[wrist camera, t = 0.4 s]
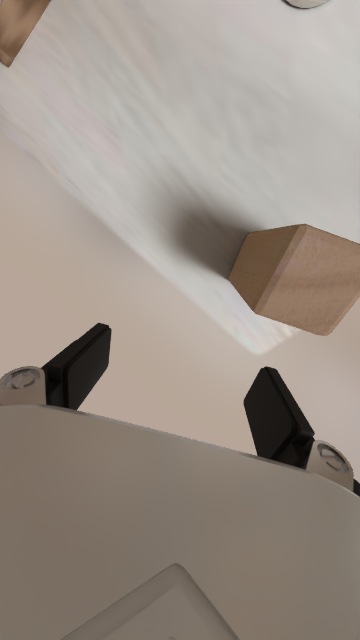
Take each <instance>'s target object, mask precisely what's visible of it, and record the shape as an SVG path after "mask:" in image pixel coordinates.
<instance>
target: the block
mask: <svg viewBox="0 0 360 640" xmlns="http://www.w3.org/2000/svg"><path fill="white" fill-rule="evenodd" d="M229 281H230V282H231V284H232V285H233V286H234V288H235V289H236V290H237V291H238V293H239V294H240V295H241V297H242V298H243V299H244V301H245V302H246V303H247V304H248V306H249V307H250V308H251V310H252V311H254V312H255V313H256V314H258V315H261V316H264V317H267V318H270V319H273V320H276V321H279V322H281V323H284V324H287V325H290V326H293V327H296V328H299V329H302V330H305V331H308V332H311V333H314V334H316V335H322V336H327V335H329V334H330V333H331V332H332V331H333V330H334V329H335V328H336V326H337V325H338V324H339V322H340V321H341V320H342V319H343V317H344V316H345V315H346V313H347V312H348V311H349V310H350V308H351V307H352V306H353V304H354V303H355V302H356V301H357V299H358V298H359V297H360V244H358V243H356V242H353V241H350V240H348V239H345V238H342V237H339V236H337V235H334V234H331V233H329V232H326V231H323V230H320V229H318V228H315V227H312V226H310V225H307V224H299V225H292V226H286V227H280V228H274V229H269V230H263V231H257V232H251V233H249V234H248V235H247V236H246V238H245V240H244V243H243V245H242V247H241V250H240V252H239V254H238V257H237V259H236V261H235V263H234V266H233V268H232V270H231V273H230V275H229Z"/></svg>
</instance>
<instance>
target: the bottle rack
mask: <svg viewBox="0 0 360 640" xmlns="http://www.w3.org/2000/svg"><path fill="white" fill-rule="evenodd" d="M50 1H51V0H3V1H2V3H1V5H0V60H1V61H2V62H3V63H4V64H6V65H7V66H8V67H9V66H10V65H11V63H12V62H13V60H14V58H15V57H16V55H17V54H18V52H19V50H20V49H21V47H22V46H23V44H24V42H25V41H26V39H27V38H28V36H29V34H30V33H31V31H32V30H33V28H34V26H35V25H36V23H37V22H38V20H39V18H40V17H41V15H42V13H43V12H44V10H45V9H46V7H47V5H48V4H49V2H50Z"/></svg>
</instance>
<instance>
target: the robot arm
mask: <svg viewBox="0 0 360 640" xmlns="http://www.w3.org/2000/svg"><path fill="white" fill-rule="evenodd" d="M286 1H288V2H289V3H290V4H292V5H294V6H297V7H300V8H312V7H316V6H319V5H322V4H323V3H325V2H327V1H329V0H286ZM110 341H111V328H109V326H108V325H105V324H101V323H97V324H96V325H95V326H94V327H93V328H91V329H90V330H89V331H88V332H86V333H85V334H84V335H83V336H82V337H80V338H79V339H78V340H76V341H74V342H73V343H71V344H70V345H69V346H68V347H66V348H65V349H64V350H63V351H62V352H60V353H59V354H58V355H56V356H55V357H54V358H53V359H52V360H50V361H49V362H48V363H47V364H45V365H44V366H43V367H42V368H38V367H34V366H27V367H21V368H17V369H14V370H12V371H10V372H8V373H6V374H5V375H4V376H3V377H2V378H1V379H0V640H360V484H359V483H358V482H357V481H356V480H355V479H354V478H353V477H354V475H353V469H352V467H351V465H350V463H349V462H348V461H347V459H346V458H345V457H344V456H343V454H342V453H341V452H340V451H338V450H337V449H336V448H335V447H333V446H332V445H330V444H329V443H327V442H325V441H321V440H316V441H315V440H314V438H313V435H314V434H315V433H314V431H313V429H312V428H311V426H310V425H309V423H308V421H307V419H306V418H305V416H304V414H303V413H302V411H301V409H300V408H299V406H298V404H297V403H296V401H295V400H294V398H293V396H292V394H291V393H290V391H289V389H288V388H287V386H286V384H285V383H284V381H283V379H282V378H281V376H280V374H279V373H278V371H277V370H276V369H274V368H270V367H264V368H261V369H260V371H259V373H258V375H257V377H256V379H255V380H254V382H253V384H252V386H251V388H250V390H249V391H248V393H247V395H246V397H245V399H244V407H245V411H246V415H247V418H248V422H249V425H250V429H251V432H252V437H253V440H254V444H255V448H256V451H257V455H258V456H255V455H252V454H248V453H244V452H240V451H236V450H232V449H229V448H225V447H221V446H217V445H214V444H210V443H205V442H202V441H198V440H194V439H190V438H186V437H182V436H178V435H175V434H170V433H167V432H163V431H159V430H155V429H151V428H147V427H143V426H139V425H135V424H131V423H127V422H123V421H119V420H115V419H111V418H106V417H103V416H99V415H94V414H90V413H86V412H81V411H77V409H78V408H79V406H80V405H81V403H82V402H83V401H84V399H85V398H86V397H87V395H88V394H89V392H90V391H91V390H92V388H93V387H94V385H95V384H96V383H97V381H98V380H99V379H100V377H101V376H102V374H103V373H104V372H105V370H106V369H107V367H108V363H109V352H110Z"/></svg>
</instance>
